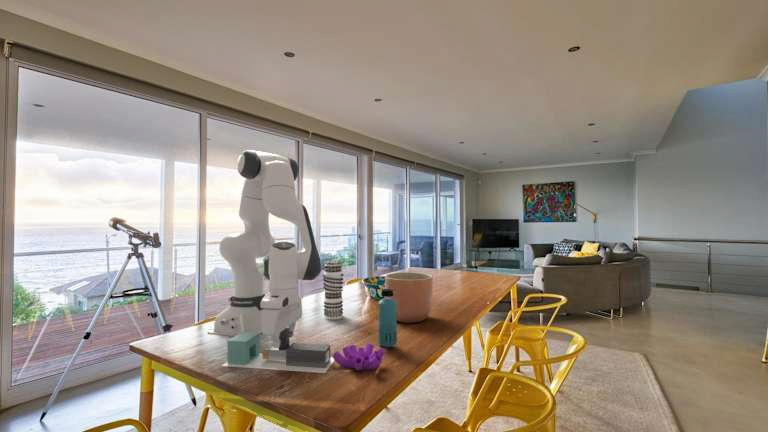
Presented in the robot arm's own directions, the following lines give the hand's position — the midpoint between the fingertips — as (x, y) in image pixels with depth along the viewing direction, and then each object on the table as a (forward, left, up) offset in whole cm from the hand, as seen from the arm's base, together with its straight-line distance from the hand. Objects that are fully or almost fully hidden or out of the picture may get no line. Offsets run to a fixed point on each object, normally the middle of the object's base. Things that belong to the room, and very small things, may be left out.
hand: (284, 341), depth 109 cm
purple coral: (+24, +1, -7) cm, 25 cm away
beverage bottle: (+29, +19, -7) cm, 35 cm away
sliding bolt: (+4, 0, -5) cm, 6 cm away
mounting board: (-1, 0, -7) cm, 7 cm away
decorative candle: (-1, +53, -7) cm, 54 cm away
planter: (+33, +54, -7) cm, 64 cm away
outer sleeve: (+8, 0, -6) cm, 10 cm away
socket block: (-13, 0, -6) cm, 15 cm away
